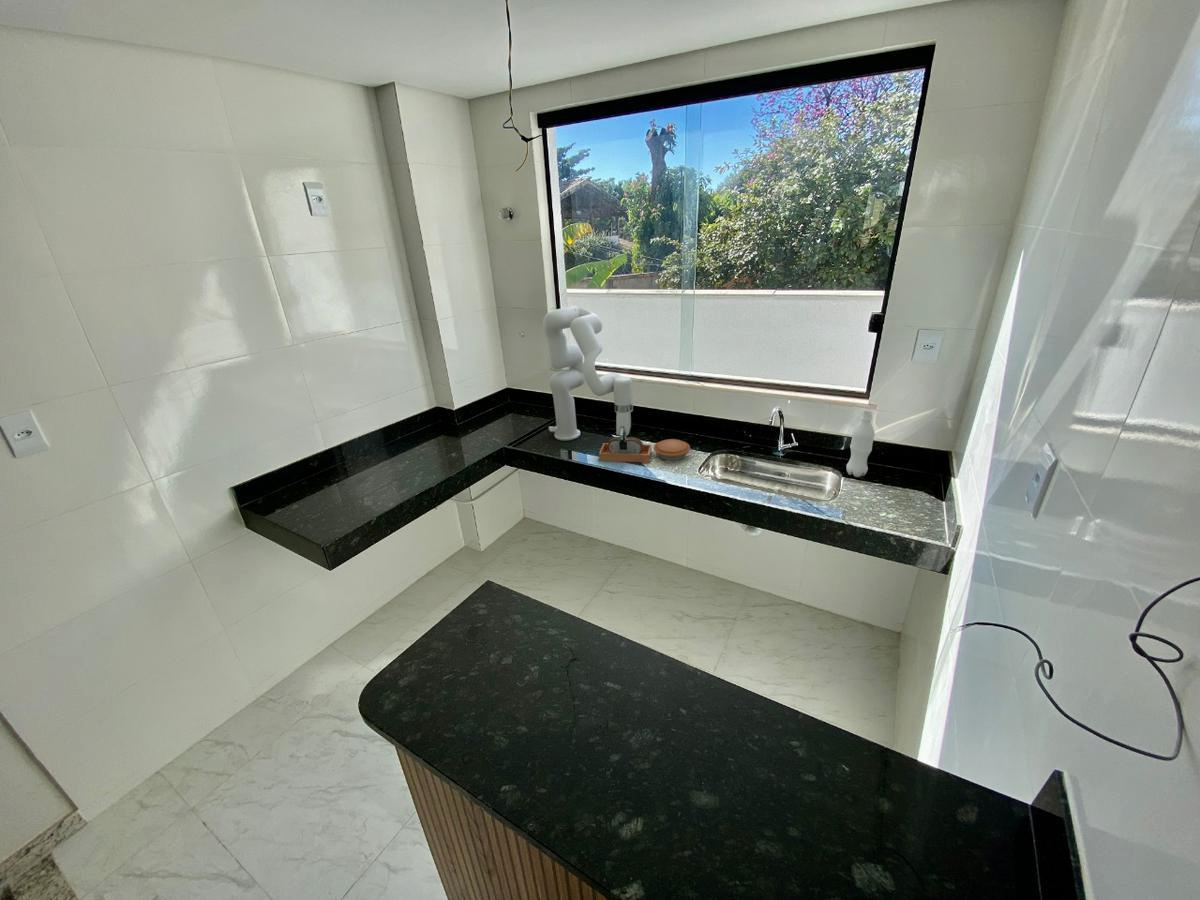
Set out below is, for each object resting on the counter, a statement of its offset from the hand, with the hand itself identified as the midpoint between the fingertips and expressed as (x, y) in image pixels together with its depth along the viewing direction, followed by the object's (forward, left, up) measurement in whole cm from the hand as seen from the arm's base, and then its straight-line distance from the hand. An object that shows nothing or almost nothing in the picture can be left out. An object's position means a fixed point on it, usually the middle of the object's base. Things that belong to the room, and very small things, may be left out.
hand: (625, 444), depth 207 cm
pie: (+20, +3, -6) cm, 21 cm away
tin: (0, -1, -5) cm, 5 cm away
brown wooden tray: (0, 0, -6) cm, 6 cm away
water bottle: (+90, -8, -6) cm, 90 cm away
